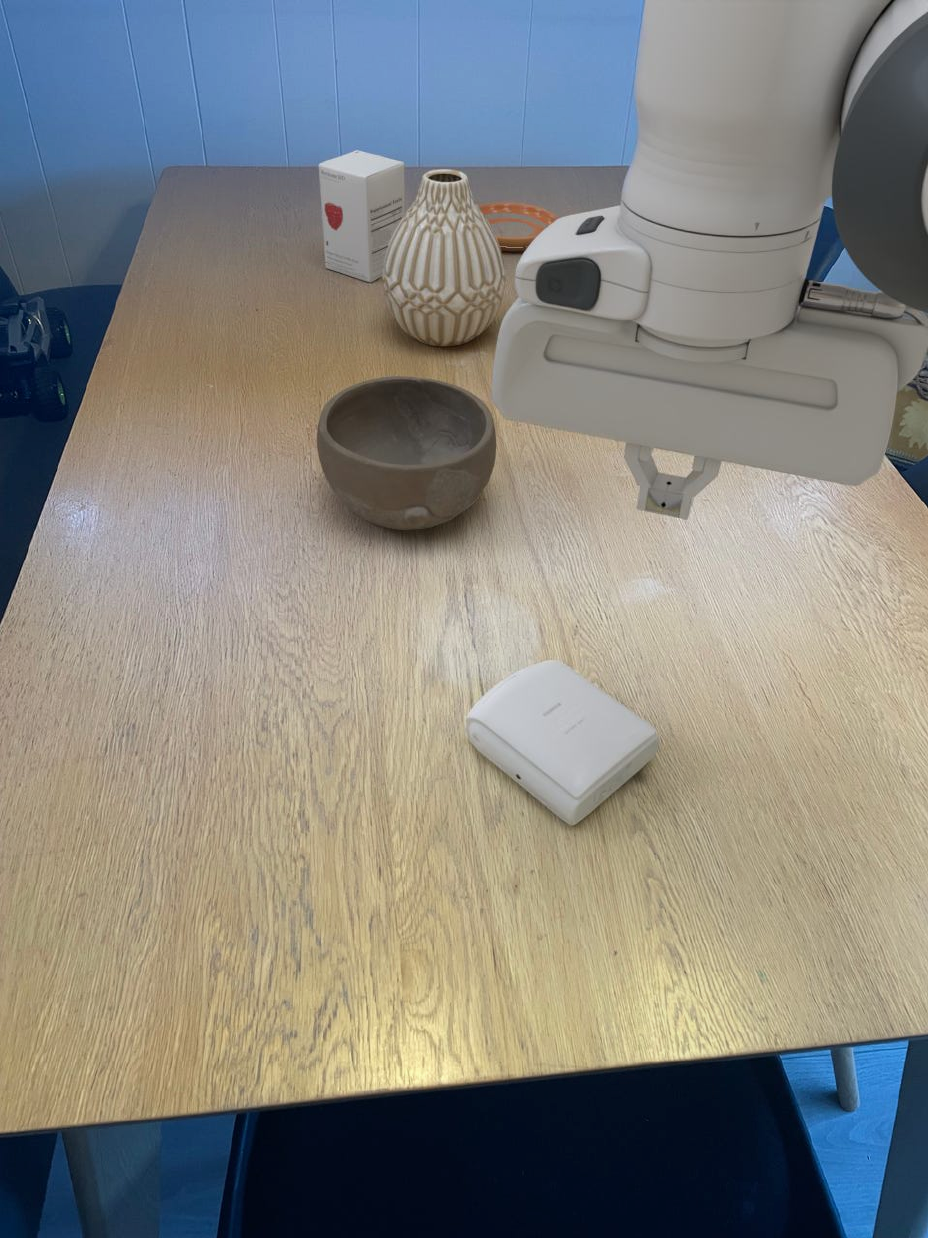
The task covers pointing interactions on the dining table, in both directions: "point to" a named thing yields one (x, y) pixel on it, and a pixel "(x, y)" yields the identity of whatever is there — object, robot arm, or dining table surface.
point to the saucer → (522, 209)
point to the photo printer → (560, 737)
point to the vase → (444, 264)
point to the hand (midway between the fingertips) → (664, 509)
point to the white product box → (360, 211)
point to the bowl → (406, 450)
